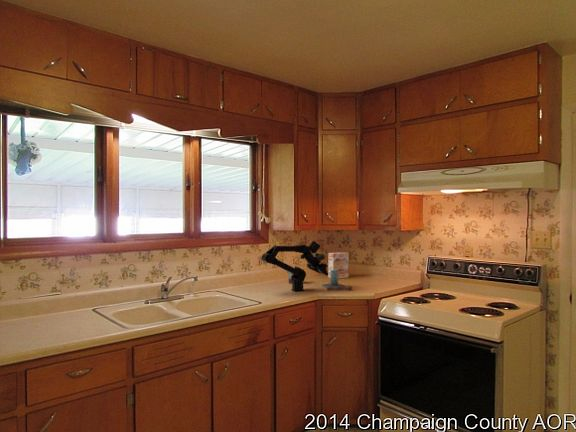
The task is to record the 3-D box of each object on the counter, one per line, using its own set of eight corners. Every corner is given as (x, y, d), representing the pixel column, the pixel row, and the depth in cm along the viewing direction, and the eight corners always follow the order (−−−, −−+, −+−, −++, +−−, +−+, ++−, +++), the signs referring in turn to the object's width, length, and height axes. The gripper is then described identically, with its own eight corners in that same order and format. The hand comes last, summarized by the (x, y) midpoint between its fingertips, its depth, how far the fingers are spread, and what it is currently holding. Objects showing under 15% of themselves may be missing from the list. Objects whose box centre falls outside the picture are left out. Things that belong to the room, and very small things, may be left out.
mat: (331, 288, 266) (331, 287, 266) (322, 285, 276) (322, 284, 276) (346, 287, 271) (346, 285, 271) (336, 284, 282) (336, 282, 282)
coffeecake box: (333, 279, 304) (333, 253, 304) (328, 277, 310) (327, 252, 310) (349, 277, 311) (348, 252, 311) (343, 276, 318) (343, 251, 317)
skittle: (336, 285, 271) (336, 271, 270) (329, 285, 272) (329, 270, 272) (338, 284, 275) (338, 270, 275) (331, 284, 277) (331, 269, 277)
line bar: (327, 290, 259) (327, 287, 259) (327, 289, 262) (327, 286, 262) (351, 290, 261) (351, 287, 261) (350, 289, 264) (350, 286, 263)
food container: (304, 282, 290) (304, 268, 290) (304, 284, 284) (304, 270, 283) (287, 282, 291) (287, 268, 291) (286, 283, 285) (286, 269, 285)
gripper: (325, 251, 259) (339, 267, 264) (311, 248, 276) (324, 263, 281) (314, 264, 256) (328, 280, 261) (300, 260, 272) (314, 275, 277)
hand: (324, 274), depth 270 cm, fingers open, 9 cm apart
